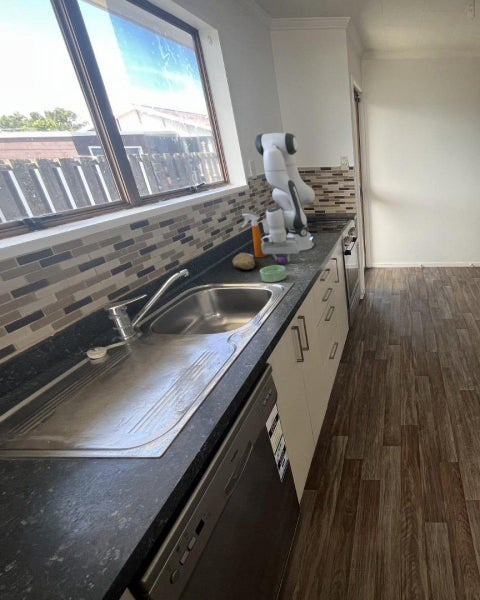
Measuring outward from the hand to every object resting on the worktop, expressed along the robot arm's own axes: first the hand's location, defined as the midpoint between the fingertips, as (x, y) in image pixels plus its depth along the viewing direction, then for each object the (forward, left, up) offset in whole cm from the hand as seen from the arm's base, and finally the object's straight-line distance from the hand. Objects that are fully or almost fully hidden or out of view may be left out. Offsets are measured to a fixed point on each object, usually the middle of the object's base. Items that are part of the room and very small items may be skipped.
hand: (282, 261), depth 187 cm
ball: (0, 0, +1) cm, 1 cm away
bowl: (+18, -14, -2) cm, 23 cm away
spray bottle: (-25, -4, -2) cm, 25 cm away
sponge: (-11, -17, -2) cm, 20 cm away
